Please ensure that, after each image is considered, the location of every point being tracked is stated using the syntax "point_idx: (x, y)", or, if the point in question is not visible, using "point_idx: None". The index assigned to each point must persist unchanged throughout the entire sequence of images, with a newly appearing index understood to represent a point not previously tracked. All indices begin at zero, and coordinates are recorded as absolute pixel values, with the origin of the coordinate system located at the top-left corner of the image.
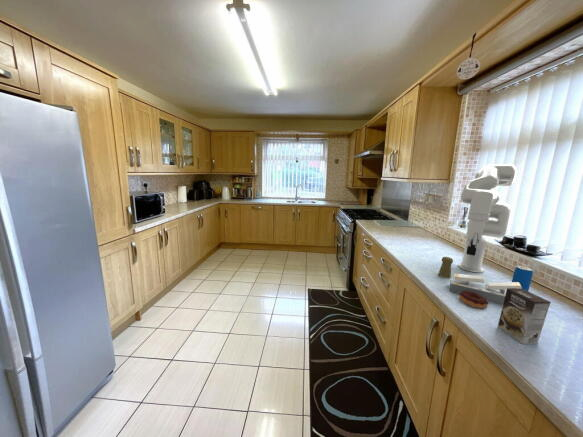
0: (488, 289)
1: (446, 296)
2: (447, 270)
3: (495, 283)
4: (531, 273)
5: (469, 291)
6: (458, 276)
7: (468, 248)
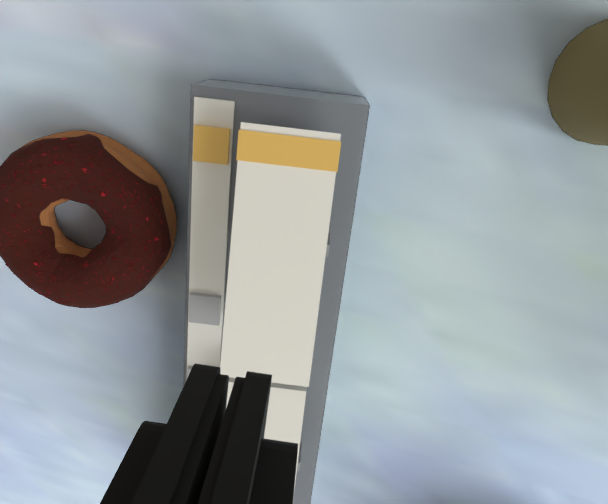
0: None
1: (72, 27)
2: (598, 102)
3: None
4: None
5: (146, 219)
6: (250, 162)
7: (148, 480)
